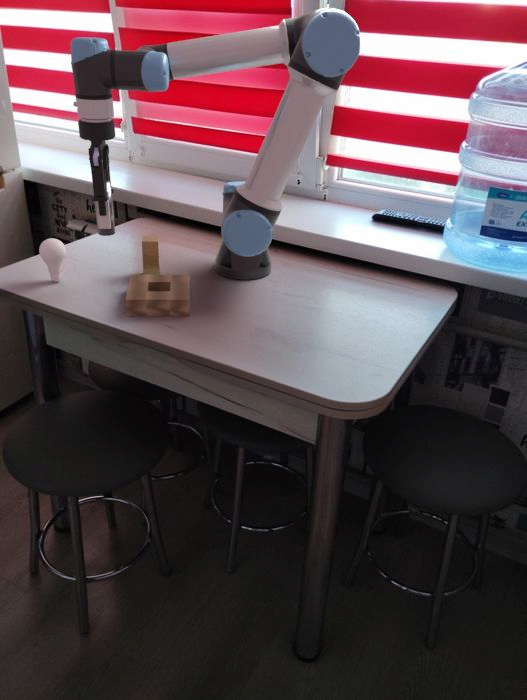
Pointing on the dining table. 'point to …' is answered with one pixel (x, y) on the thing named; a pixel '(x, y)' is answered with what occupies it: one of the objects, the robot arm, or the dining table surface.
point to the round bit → (110, 231)
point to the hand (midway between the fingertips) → (106, 224)
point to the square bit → (151, 255)
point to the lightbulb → (53, 257)
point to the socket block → (158, 295)
